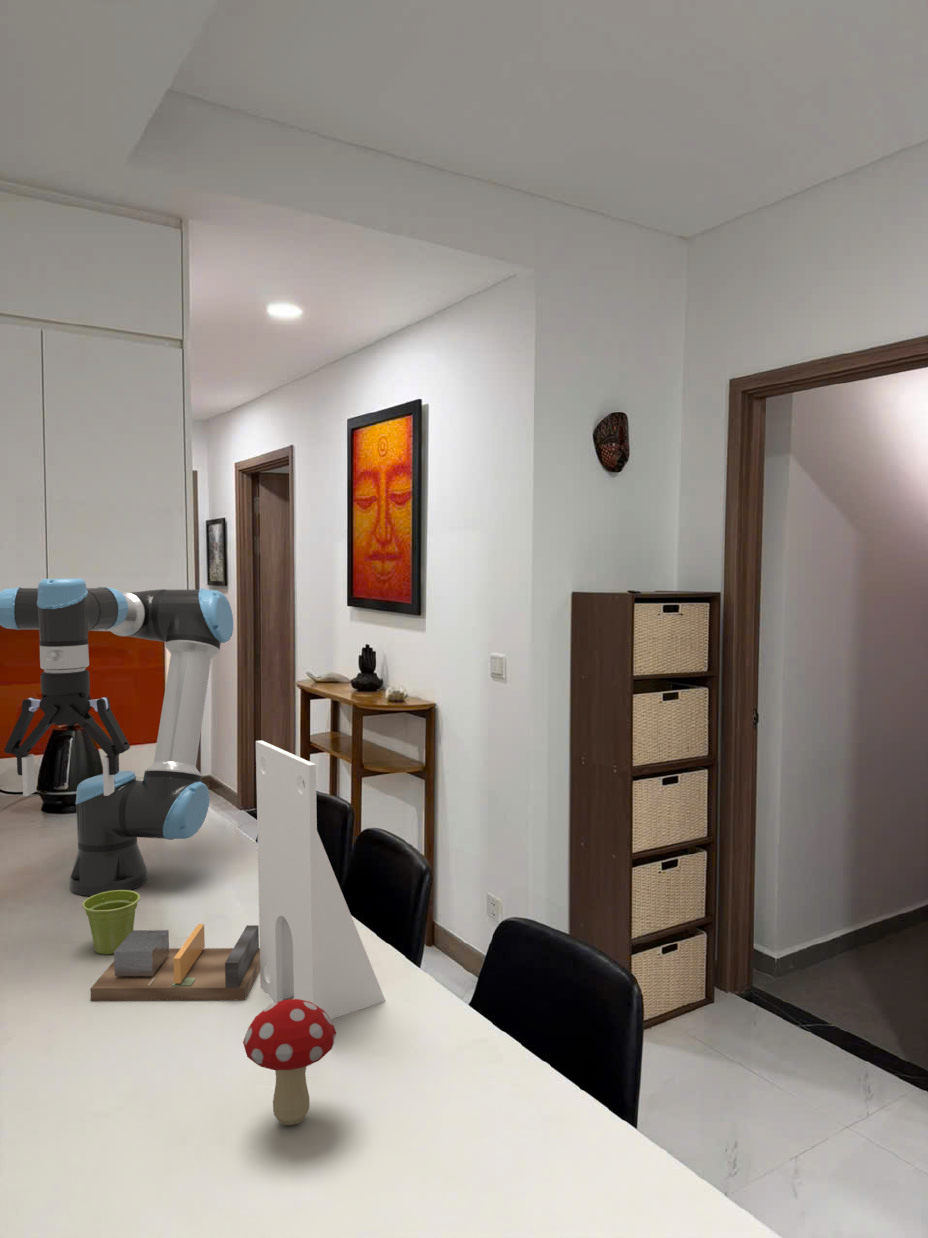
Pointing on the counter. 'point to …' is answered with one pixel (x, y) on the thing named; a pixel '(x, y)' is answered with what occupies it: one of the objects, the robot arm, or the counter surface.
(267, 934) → the white bracket plate
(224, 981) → the gauge board
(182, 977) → the upright wooden plank
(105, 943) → the plant pot
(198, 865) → the counter surface
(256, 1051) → the decorative mushroom
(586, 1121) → the counter surface
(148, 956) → the grey foam block
